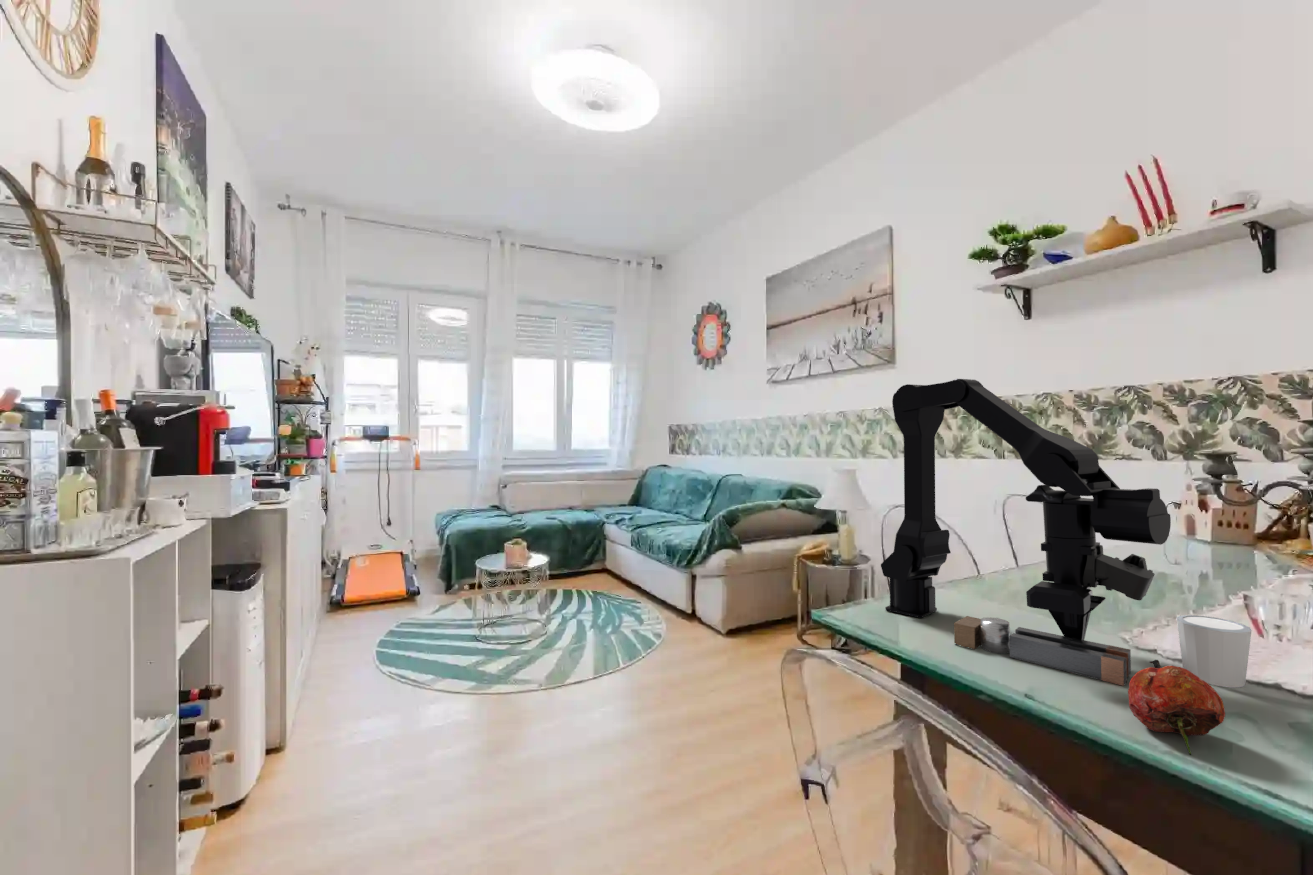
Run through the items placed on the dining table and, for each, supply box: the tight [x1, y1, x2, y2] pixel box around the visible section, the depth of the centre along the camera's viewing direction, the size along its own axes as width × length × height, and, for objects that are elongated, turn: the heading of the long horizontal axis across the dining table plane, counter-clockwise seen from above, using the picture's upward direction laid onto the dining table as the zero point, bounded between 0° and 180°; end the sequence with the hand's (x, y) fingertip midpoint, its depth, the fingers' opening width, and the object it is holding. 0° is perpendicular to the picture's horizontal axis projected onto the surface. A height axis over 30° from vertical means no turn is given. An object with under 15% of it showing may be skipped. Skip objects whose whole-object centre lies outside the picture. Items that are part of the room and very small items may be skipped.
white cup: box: [1176, 614, 1253, 689], centre depth 73 cm, size 7×7×7 cm
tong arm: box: [1014, 626, 1132, 678], centre depth 78 cm, size 12×2×3 cm, turn 43°
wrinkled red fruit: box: [1127, 659, 1226, 756], centre depth 59 cm, size 7×7×10 cm
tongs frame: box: [953, 615, 1128, 687], centre depth 79 cm, size 20×5×4 cm, turn 41°
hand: (1076, 649), depth 79 cm, fingers closed
